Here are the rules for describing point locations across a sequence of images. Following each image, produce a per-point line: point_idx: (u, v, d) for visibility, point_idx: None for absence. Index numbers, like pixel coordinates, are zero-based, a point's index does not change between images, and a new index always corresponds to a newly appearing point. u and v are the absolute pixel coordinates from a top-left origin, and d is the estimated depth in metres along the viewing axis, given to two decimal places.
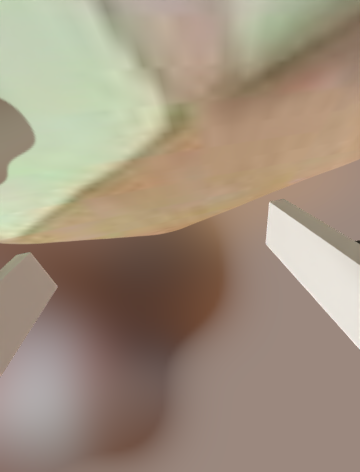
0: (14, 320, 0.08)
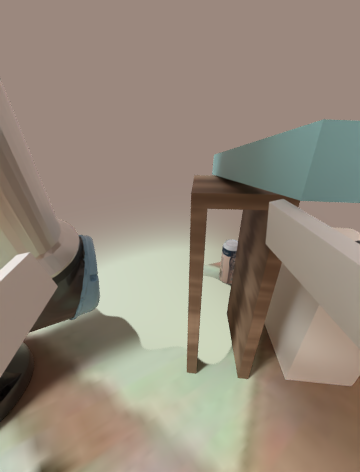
0: (14, 320, 0.08)
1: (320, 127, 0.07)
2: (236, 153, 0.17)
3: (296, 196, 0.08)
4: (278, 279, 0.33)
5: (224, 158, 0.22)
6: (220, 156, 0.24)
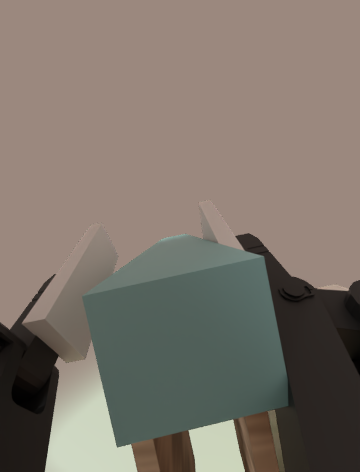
0: (100, 275, 0.10)
1: (86, 308, 0.03)
2: None
3: None
4: None
5: None
6: None
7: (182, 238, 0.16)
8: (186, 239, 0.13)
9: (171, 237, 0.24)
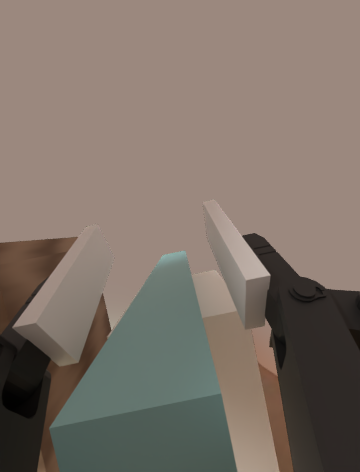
0: (95, 277, 0.09)
1: (53, 437, 0.04)
2: None
3: None
4: None
5: None
6: None
7: (178, 267, 0.16)
8: (180, 274, 0.14)
9: (170, 256, 0.25)
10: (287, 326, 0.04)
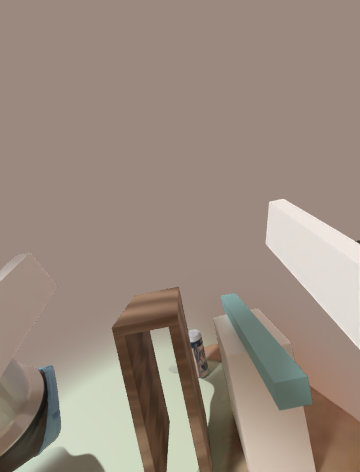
0: (14, 320, 0.08)
1: (274, 385, 0.18)
2: (239, 328, 0.29)
3: (277, 406, 0.19)
4: (223, 366, 0.38)
5: (230, 315, 0.34)
6: (226, 307, 0.37)
7: (250, 317, 0.31)
8: (257, 325, 0.28)
9: (230, 299, 0.39)
10: None
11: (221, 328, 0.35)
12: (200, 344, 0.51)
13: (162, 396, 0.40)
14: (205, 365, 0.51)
